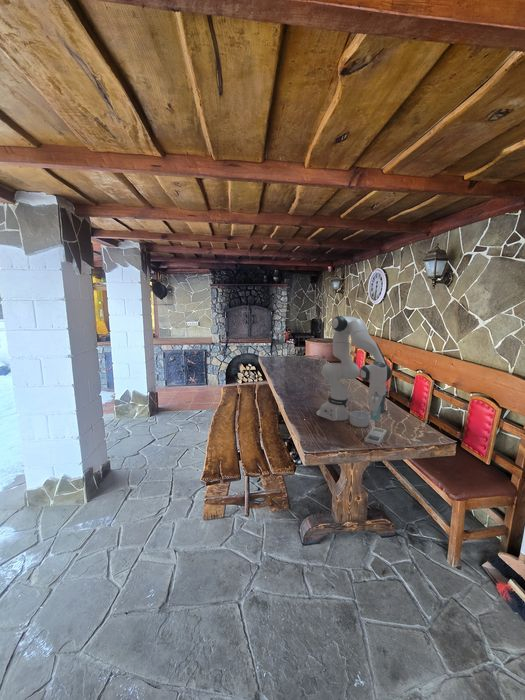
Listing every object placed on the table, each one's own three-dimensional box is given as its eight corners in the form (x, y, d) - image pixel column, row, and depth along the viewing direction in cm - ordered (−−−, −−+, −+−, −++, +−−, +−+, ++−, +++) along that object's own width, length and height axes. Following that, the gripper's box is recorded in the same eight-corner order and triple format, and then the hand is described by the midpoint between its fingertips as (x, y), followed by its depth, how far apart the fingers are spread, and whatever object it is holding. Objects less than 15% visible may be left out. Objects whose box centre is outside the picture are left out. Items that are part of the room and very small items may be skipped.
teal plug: (370, 418, 163) (371, 404, 161) (374, 417, 165) (375, 403, 163) (375, 420, 160) (377, 406, 158) (379, 419, 162) (380, 404, 160)
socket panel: (364, 441, 163) (364, 438, 163) (373, 429, 179) (373, 426, 179) (378, 445, 159) (379, 442, 158) (386, 433, 175) (386, 430, 175)
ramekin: (353, 418, 197) (353, 409, 196) (372, 423, 189) (372, 414, 187) (345, 424, 187) (346, 414, 186) (365, 430, 178) (366, 420, 177)
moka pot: (384, 415, 204) (386, 388, 201) (365, 408, 216) (366, 383, 212) (390, 412, 210) (392, 386, 207) (371, 406, 222) (373, 381, 218)
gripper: (380, 396, 149) (378, 421, 151) (385, 387, 166) (383, 409, 169) (368, 394, 152) (366, 418, 154) (374, 385, 170) (372, 407, 172)
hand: (375, 413), depth 162 cm, fingers closed on teal plug, 5 cm apart
